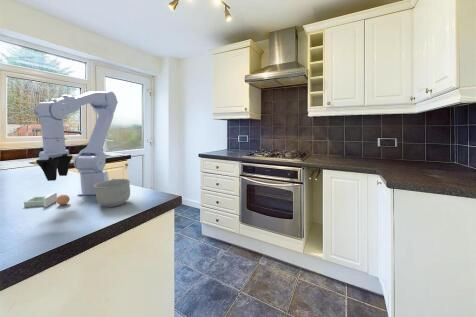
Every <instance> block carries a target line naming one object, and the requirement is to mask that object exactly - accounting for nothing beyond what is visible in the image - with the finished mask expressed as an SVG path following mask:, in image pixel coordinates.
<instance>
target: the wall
mask: <svg viewBox="0 0 476 317" xmlns="http://www.w3.org/2000/svg"><path fill="white" fill-rule="evenodd" d="M46 196H47V197H45V198H43V203H44V206H43V208H47V207H49V206H50V205H52V204H54V203H56V202H57V201H56V199H57V197H58V194H57V192H52V193H50V194H49V195H48V194H47V195H46Z"/></svg>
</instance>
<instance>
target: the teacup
mask: <svg viewBox="0 0 476 317" xmlns="http://www.w3.org/2000/svg"><path fill="white" fill-rule="evenodd" d="M130 183H131V182H130V179H128V178H127V179H126V178H111V179H109V180H108V181H103V182H100V183H97V184H95V185H94V188H95V193H96V194H95V198H96V201H97V202H98V204H99V205H101V206H104V207H106V208H107V207H108V208H111V207H112V208H113V207H117V206H120V205H124V204H125V203H126V202H127V201H128V200H129V198H130V197H131V186H130Z"/></svg>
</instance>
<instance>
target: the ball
mask: <svg viewBox="0 0 476 317" xmlns="http://www.w3.org/2000/svg"><path fill="white" fill-rule="evenodd" d="M70 200H71V199H70V196H69V195H68V194H60V195H57V199H56V201H55V202H56V203H57V204H58V205H60V206H65V205H67V204H68V203H69V202H70Z"/></svg>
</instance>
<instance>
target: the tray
mask: <svg viewBox="0 0 476 317" xmlns="http://www.w3.org/2000/svg"><path fill="white" fill-rule="evenodd" d="M47 196H48V195H46V196H45V195H44V196H43V195H42V196H34V197H32V198H29V199H27V200H26V201H24V202H23V207H24V208H27V207H28V208H29V207H31V208H32V207H44V203H43V198H45V197H47Z"/></svg>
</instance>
